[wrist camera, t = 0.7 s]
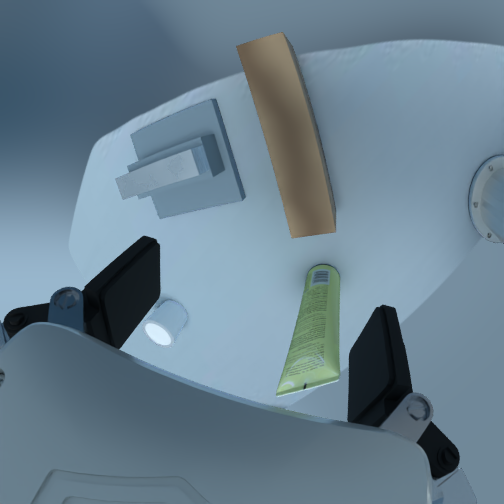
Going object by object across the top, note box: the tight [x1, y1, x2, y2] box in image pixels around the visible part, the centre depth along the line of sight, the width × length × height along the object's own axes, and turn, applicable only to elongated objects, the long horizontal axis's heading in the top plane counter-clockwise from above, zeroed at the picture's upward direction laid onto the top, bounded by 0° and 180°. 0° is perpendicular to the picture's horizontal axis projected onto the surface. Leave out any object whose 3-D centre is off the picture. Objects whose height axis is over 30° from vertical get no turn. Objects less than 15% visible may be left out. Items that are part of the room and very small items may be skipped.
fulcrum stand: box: [115, 99, 245, 219], centre depth 34 cm, size 14×14×8 cm
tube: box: [276, 265, 340, 397], centre depth 32 cm, size 6×5×20 cm
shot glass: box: [142, 300, 188, 348], centre depth 50 cm, size 7×7×7 cm
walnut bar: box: [236, 32, 336, 238], centre depth 29 cm, size 5×22×7 cm, turn 17°
